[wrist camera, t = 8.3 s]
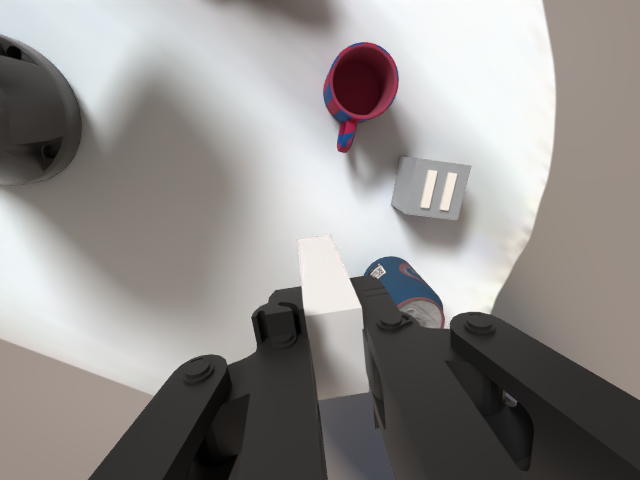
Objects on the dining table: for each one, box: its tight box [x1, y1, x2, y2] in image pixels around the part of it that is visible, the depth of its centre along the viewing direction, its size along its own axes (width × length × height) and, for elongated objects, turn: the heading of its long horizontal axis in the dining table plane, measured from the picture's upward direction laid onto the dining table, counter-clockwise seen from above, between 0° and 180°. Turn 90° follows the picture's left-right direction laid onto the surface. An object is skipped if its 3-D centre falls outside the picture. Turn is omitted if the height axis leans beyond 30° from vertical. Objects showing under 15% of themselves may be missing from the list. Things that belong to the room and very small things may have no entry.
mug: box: [323, 42, 399, 153], centre depth 35 cm, size 7×10×7 cm
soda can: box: [364, 257, 445, 329], centre depth 39 cm, size 7×7×12 cm
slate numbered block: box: [391, 156, 471, 220], centre depth 38 cm, size 6×6×6 cm
